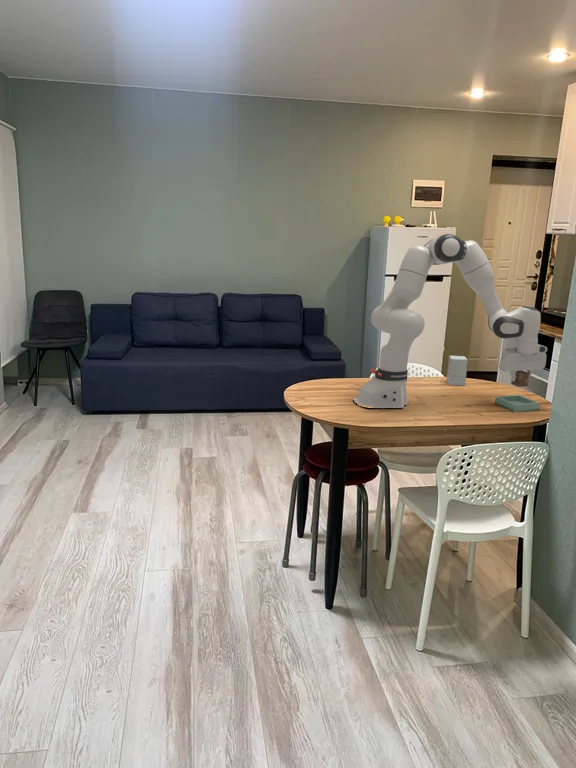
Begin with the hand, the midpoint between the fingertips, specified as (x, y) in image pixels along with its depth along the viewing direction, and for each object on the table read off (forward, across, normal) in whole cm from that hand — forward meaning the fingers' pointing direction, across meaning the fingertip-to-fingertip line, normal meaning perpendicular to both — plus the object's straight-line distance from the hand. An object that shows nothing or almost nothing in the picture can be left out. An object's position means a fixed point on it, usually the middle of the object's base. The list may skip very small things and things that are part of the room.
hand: (520, 380), depth 235 cm
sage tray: (+11, 0, 0) cm, 11 cm away
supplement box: (+11, -4, +37) cm, 39 cm away
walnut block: (+2, 0, 0) cm, 2 cm away
